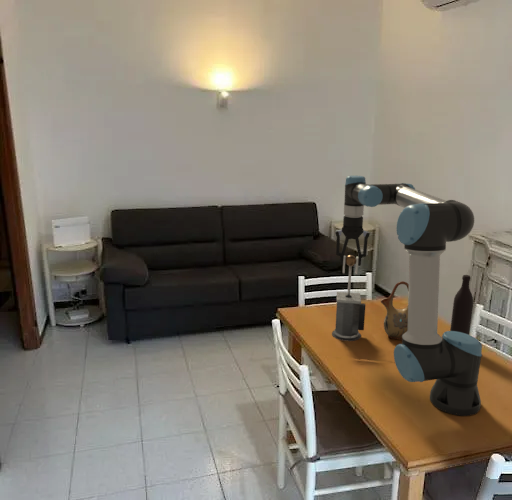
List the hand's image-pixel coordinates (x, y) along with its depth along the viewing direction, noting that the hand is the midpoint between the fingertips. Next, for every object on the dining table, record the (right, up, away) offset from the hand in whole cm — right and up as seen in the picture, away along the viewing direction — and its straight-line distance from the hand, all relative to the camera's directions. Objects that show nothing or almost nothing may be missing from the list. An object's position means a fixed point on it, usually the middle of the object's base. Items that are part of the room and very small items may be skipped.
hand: (350, 272), depth 199 cm
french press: (0, -26, +7) cm, 27 cm away
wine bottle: (+43, -30, -1) cm, 52 cm away
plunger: (0, -16, +4) cm, 17 cm away
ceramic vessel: (+21, -28, +6) cm, 35 cm away
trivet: (0, -27, +7) cm, 28 cm away
